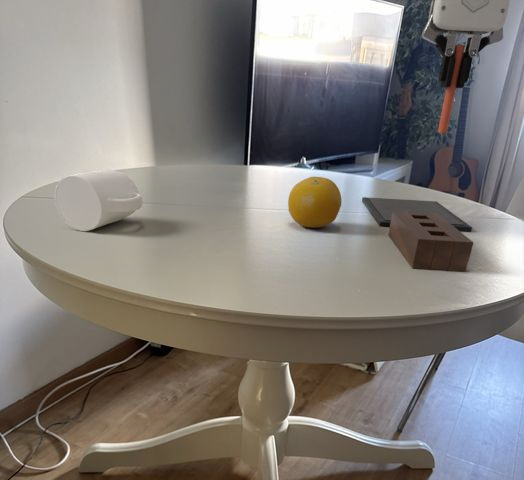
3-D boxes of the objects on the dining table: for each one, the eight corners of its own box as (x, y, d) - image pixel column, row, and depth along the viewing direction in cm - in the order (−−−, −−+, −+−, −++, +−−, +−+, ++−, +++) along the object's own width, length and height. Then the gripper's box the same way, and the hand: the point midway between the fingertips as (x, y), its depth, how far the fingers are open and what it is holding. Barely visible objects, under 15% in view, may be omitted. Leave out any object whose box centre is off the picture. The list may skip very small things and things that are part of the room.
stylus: (445, 132, 78) (463, 45, 72) (447, 133, 77) (466, 45, 71) (436, 132, 78) (453, 45, 72) (439, 132, 77) (456, 44, 71)
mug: (54, 227, 73) (45, 172, 69) (90, 214, 81) (84, 164, 77) (124, 237, 70) (118, 180, 66) (154, 223, 78) (151, 171, 74)
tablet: (436, 205, 103) (436, 201, 103) (471, 231, 84) (472, 226, 83) (361, 200, 103) (362, 196, 103) (379, 226, 84) (380, 221, 83)
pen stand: (431, 237, 79) (437, 213, 77) (465, 271, 64) (473, 242, 62) (388, 235, 79) (392, 210, 77) (412, 268, 64) (418, 239, 62)
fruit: (287, 231, 78) (291, 180, 74) (285, 219, 85) (289, 172, 81) (341, 234, 78) (348, 183, 74) (335, 222, 85) (340, 174, 81)
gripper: (432, -77, 62) (406, 85, 71) (553, -71, 62) (511, 90, 71) (419, -61, 69) (396, 85, 78) (528, -56, 69) (492, 90, 77)
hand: (451, 86), depth 74 cm, fingers closed on stylus, 1 cm apart
